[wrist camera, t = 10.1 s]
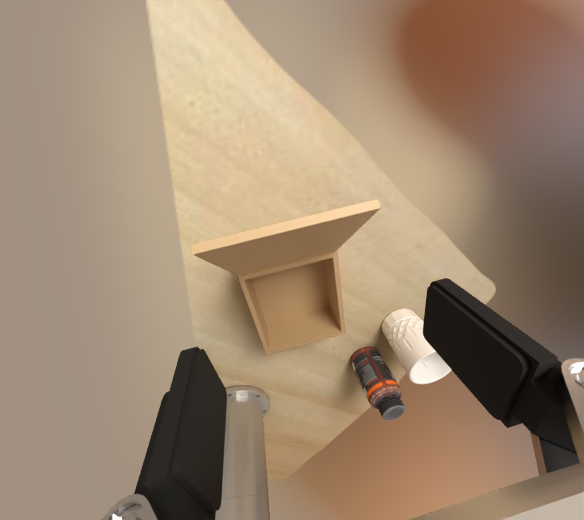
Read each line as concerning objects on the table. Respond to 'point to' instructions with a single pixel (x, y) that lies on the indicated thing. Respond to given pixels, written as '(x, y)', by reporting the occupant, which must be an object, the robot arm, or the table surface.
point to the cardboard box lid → (286, 240)
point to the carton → (296, 302)
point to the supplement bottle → (378, 383)
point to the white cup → (413, 347)
